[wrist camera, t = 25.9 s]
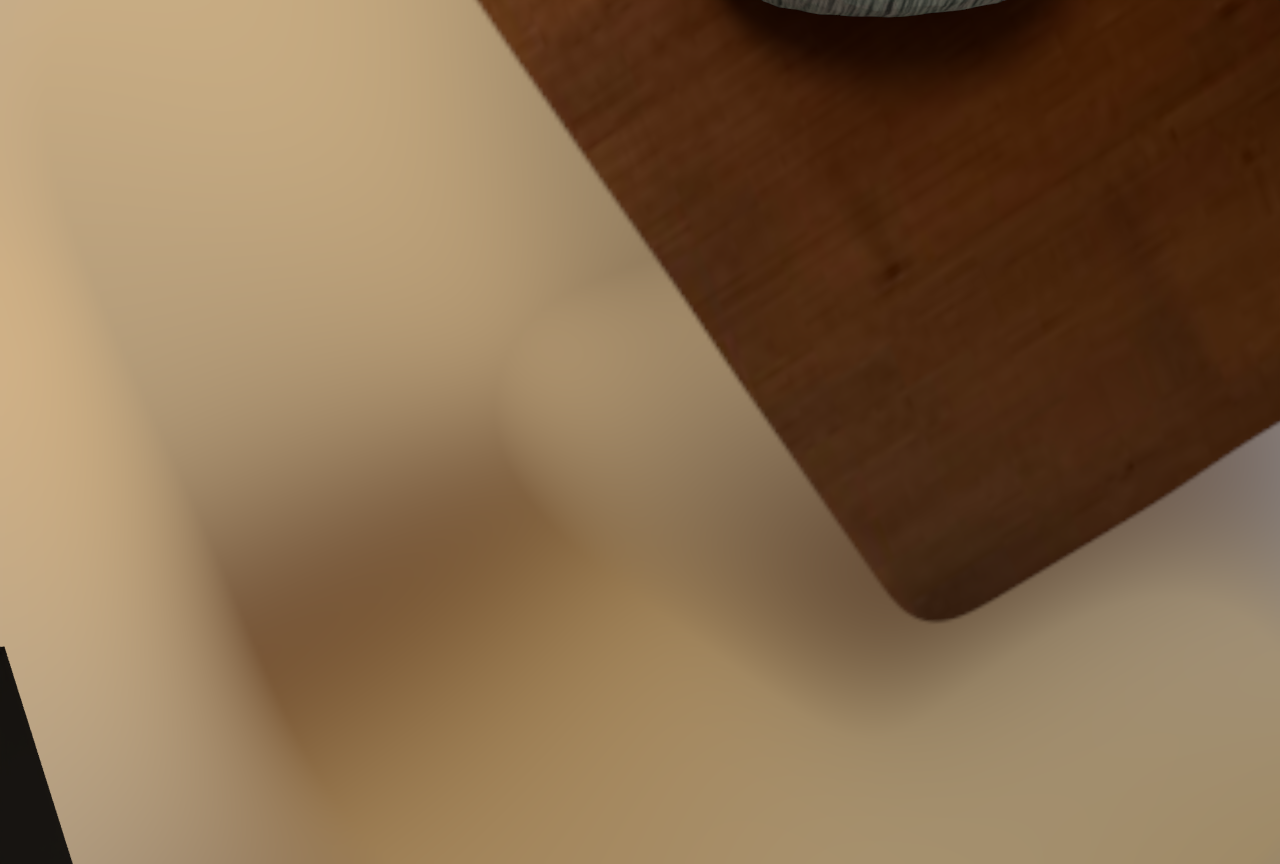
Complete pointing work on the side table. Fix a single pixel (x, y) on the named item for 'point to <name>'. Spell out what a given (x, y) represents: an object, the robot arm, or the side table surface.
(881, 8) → the spool
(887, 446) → the side table surface
